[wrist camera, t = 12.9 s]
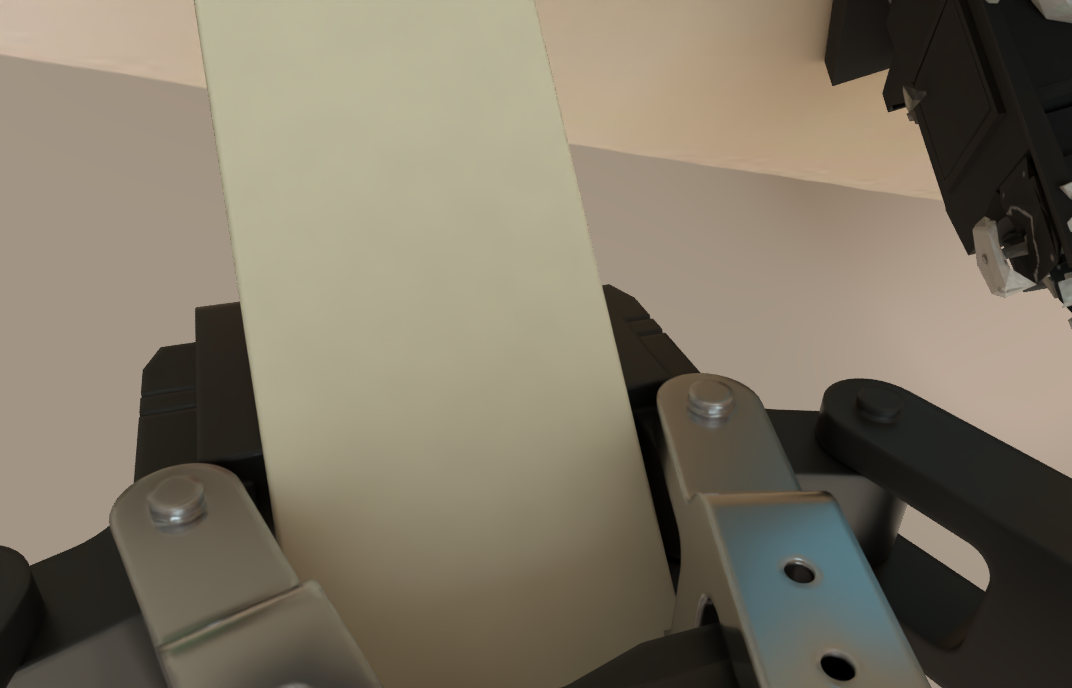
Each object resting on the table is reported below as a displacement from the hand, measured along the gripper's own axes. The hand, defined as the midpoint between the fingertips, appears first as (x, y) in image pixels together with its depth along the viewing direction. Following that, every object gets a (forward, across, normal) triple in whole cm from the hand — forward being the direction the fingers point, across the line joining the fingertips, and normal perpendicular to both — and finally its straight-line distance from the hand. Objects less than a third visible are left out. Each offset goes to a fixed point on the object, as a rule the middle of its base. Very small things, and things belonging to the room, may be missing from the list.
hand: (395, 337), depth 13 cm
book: (+6, 0, -4) cm, 7 cm away
